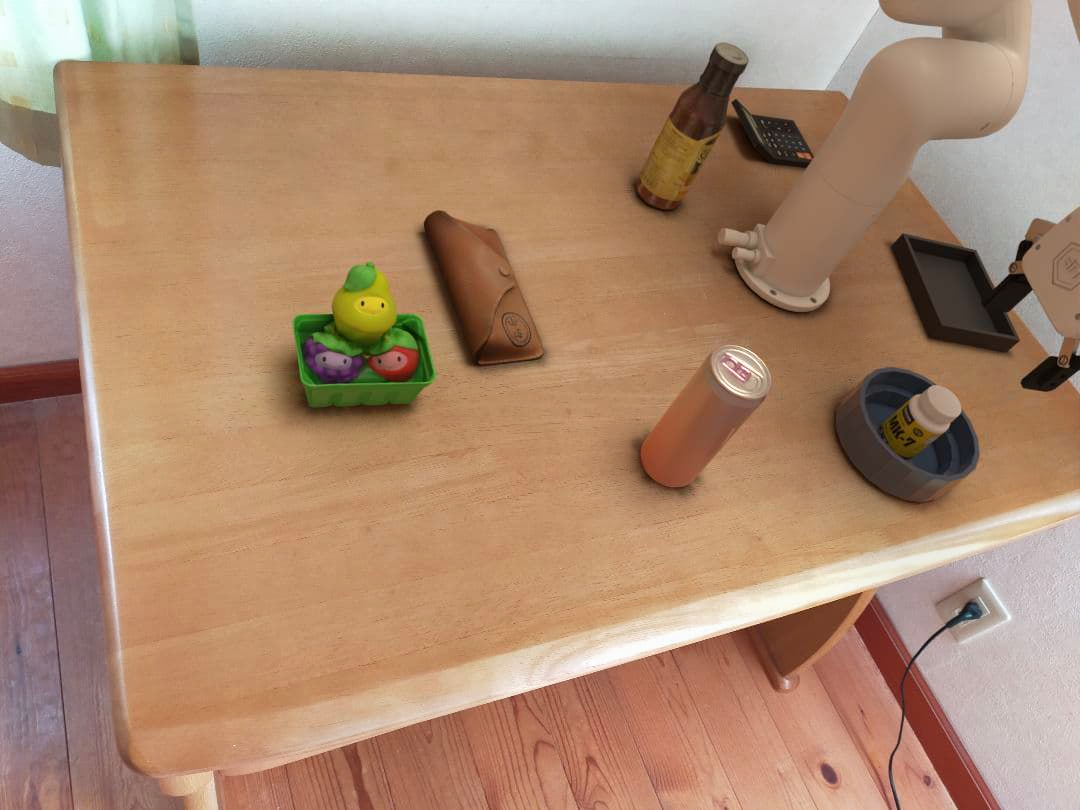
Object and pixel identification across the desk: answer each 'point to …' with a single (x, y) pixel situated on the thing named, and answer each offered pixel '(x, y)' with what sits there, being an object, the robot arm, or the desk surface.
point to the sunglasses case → (483, 291)
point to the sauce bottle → (691, 130)
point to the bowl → (879, 462)
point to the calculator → (775, 138)
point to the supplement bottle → (920, 421)
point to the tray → (952, 293)
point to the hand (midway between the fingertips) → (1012, 346)
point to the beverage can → (705, 415)
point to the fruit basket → (362, 347)
